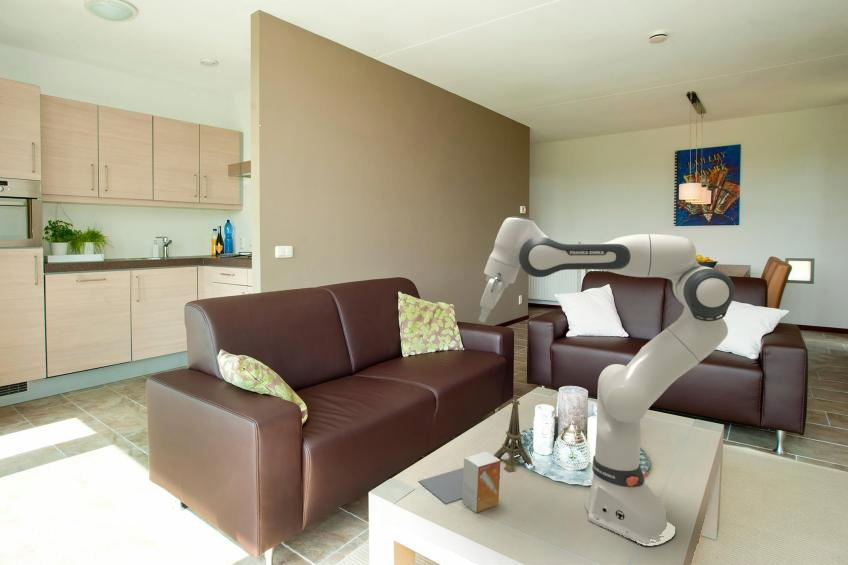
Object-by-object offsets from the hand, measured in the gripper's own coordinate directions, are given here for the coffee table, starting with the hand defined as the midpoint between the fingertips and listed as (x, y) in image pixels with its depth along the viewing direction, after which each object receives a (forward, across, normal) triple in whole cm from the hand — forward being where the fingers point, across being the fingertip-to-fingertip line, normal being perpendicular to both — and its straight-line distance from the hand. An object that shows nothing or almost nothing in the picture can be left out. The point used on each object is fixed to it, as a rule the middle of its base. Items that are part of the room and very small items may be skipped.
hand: (483, 318), depth 137 cm
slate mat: (+50, 0, -10) cm, 50 cm away
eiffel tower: (+46, +20, -24) cm, 55 cm away
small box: (+47, -8, -17) cm, 51 cm away
